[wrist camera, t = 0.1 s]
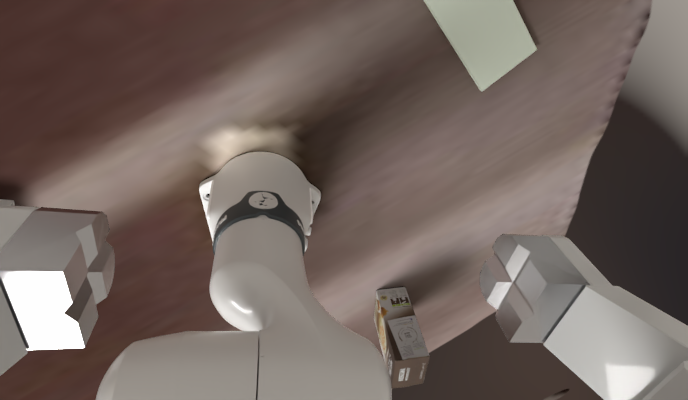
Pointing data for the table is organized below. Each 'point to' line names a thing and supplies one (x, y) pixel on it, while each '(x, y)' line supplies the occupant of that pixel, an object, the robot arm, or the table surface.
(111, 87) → the table surface
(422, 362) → the coffee box
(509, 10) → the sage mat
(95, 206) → the table surface
